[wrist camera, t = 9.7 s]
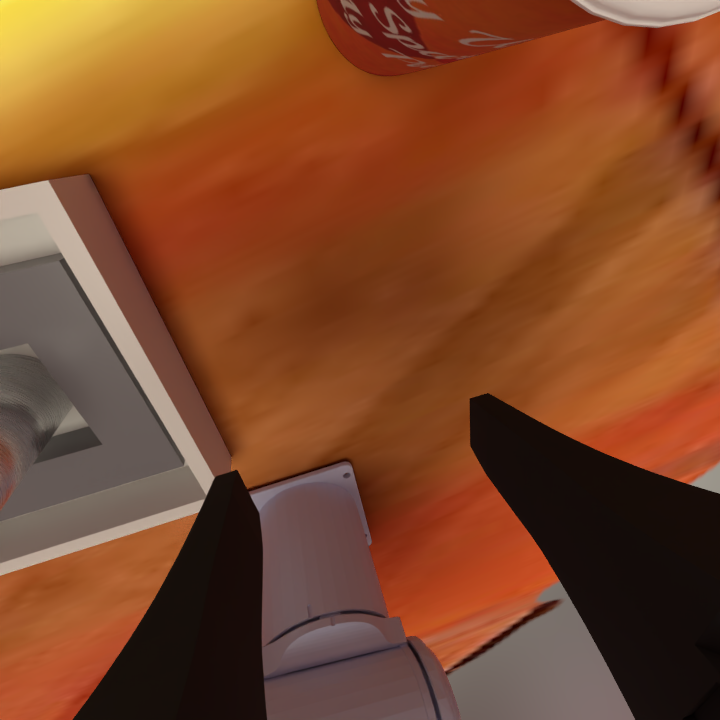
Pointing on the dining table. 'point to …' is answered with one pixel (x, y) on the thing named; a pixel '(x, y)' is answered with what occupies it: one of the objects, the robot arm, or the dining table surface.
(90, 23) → the dining table surface
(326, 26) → the paper cup
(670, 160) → the dining table surface
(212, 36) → the dining table surface
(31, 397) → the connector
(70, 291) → the box
